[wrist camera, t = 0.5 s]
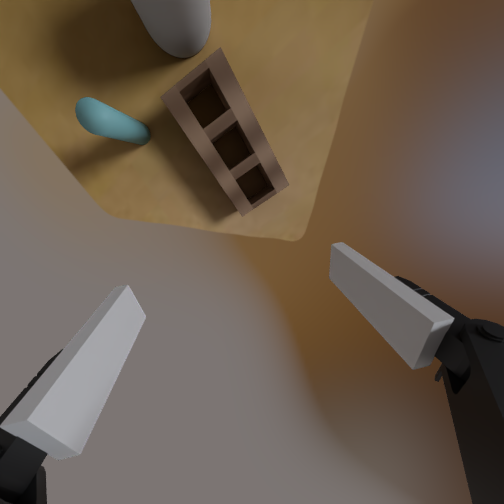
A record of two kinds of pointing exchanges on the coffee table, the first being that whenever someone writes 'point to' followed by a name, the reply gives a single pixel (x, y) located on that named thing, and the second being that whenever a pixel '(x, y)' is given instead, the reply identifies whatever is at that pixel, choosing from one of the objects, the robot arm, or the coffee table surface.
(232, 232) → the coffee table surface
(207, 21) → the mug
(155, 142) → the coffee table surface
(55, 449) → the robot arm
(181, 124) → the hole block
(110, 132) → the peg
